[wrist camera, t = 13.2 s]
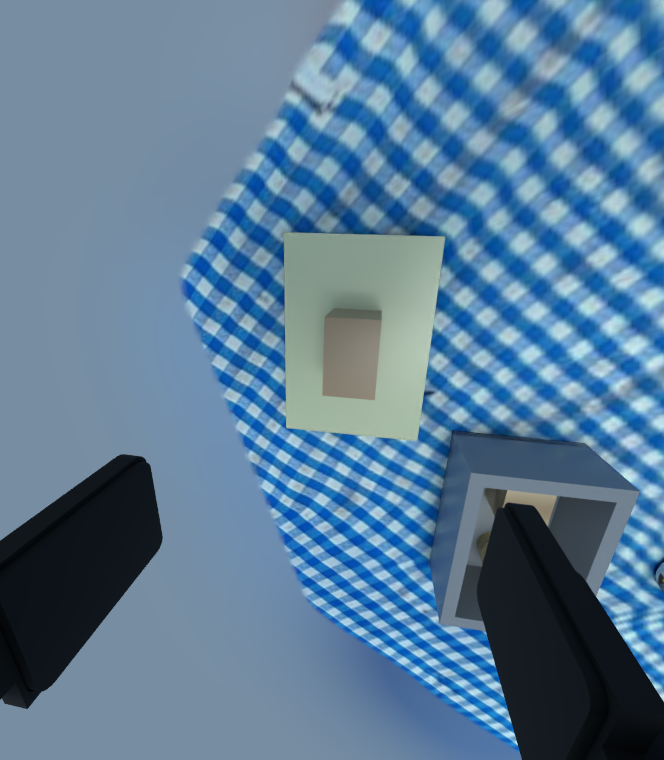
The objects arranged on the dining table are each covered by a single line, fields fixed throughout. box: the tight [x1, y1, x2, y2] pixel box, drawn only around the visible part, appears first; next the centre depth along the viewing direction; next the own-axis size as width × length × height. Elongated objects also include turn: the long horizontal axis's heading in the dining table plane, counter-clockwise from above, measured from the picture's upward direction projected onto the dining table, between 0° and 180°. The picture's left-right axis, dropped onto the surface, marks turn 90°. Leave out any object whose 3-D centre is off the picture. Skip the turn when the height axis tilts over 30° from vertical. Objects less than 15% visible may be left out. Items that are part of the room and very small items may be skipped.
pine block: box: [485, 488, 557, 526], centre depth 30 cm, size 4×4×4 cm
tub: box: [430, 431, 640, 631], centre depth 31 cm, size 17×12×7 cm
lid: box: [284, 232, 445, 441], centre depth 27 cm, size 18×13×8 cm
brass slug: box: [476, 531, 491, 565], centre depth 33 cm, size 4×4×4 cm
